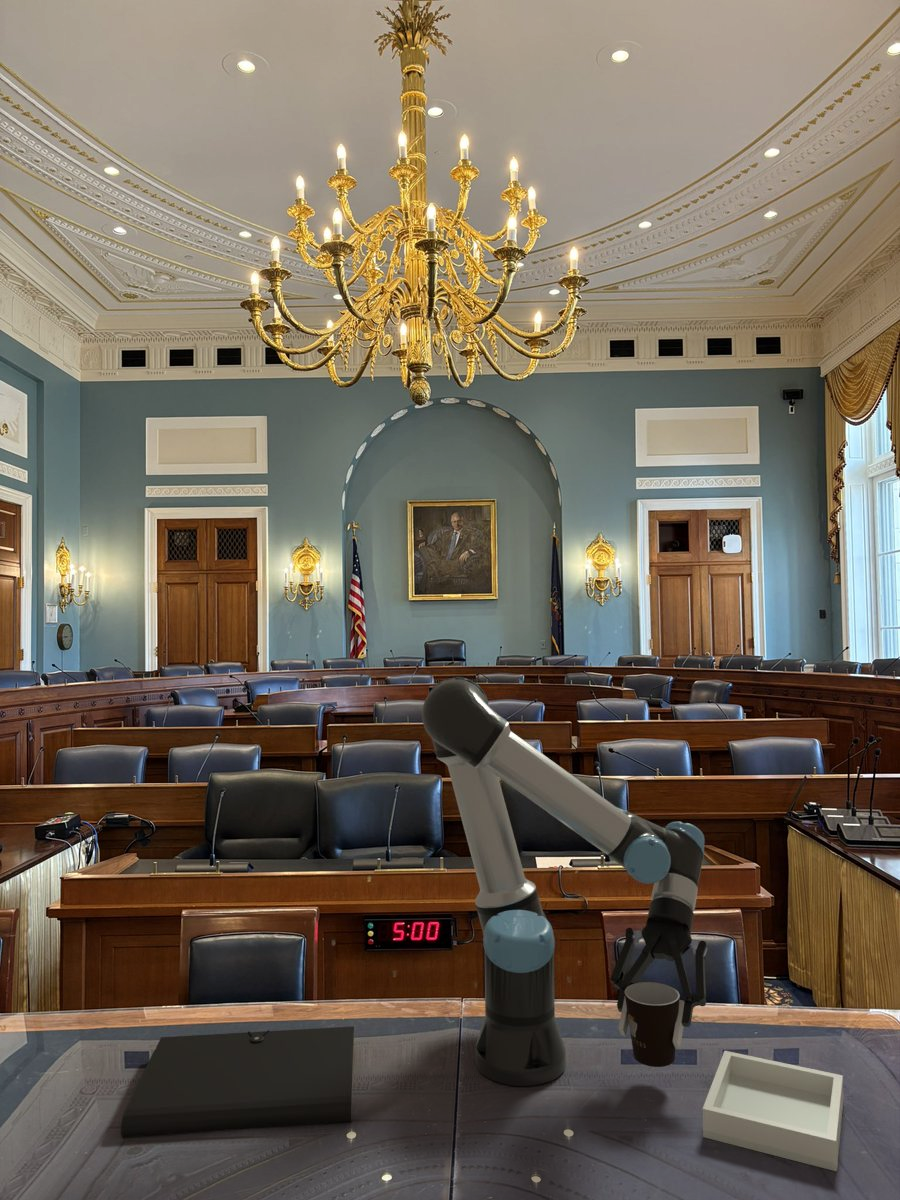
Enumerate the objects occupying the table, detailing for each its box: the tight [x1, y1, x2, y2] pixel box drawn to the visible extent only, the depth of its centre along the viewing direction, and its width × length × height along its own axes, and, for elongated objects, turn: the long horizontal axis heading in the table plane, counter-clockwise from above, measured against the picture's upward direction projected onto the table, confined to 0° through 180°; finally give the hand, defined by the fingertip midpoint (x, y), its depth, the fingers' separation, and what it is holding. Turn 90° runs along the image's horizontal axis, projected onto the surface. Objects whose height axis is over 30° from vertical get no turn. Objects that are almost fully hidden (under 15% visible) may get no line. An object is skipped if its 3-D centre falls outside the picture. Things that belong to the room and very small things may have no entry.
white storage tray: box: [702, 1050, 844, 1172], centre depth 126 cm, size 17×18×4 cm
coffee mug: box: [625, 981, 681, 1068], centre depth 138 cm, size 12×9×10 cm
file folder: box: [120, 1026, 355, 1138], centre depth 136 cm, size 33×4×24 cm
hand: (648, 1038), depth 135 cm, fingers closed on coffee mug, 8 cm apart
